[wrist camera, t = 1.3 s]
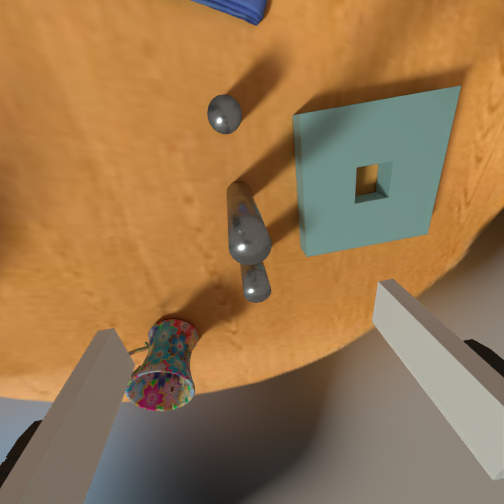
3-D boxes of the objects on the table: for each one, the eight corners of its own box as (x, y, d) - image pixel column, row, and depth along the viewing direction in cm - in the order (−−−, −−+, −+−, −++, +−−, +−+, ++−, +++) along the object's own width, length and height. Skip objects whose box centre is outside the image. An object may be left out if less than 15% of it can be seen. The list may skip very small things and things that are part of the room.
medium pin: (237, 244, 35) (241, 283, 26) (258, 240, 35) (269, 277, 26) (240, 262, 37) (246, 304, 28) (260, 258, 37) (272, 299, 28)
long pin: (224, 183, 31) (224, 231, 17) (248, 179, 31) (268, 222, 17) (229, 207, 32) (233, 268, 18) (252, 202, 32) (273, 260, 18)
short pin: (207, 103, 26) (203, 97, 21) (235, 98, 26) (238, 91, 21) (214, 134, 28) (212, 136, 23) (240, 130, 28) (244, 130, 23)
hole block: (292, 115, 28) (299, 114, 25) (439, 89, 28) (461, 85, 26) (300, 247, 36) (306, 256, 34) (412, 226, 37) (427, 234, 34)
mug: (207, 320, 41) (202, 376, 32) (193, 354, 45) (185, 414, 36) (135, 305, 38) (107, 362, 29) (127, 344, 42) (99, 405, 33)
